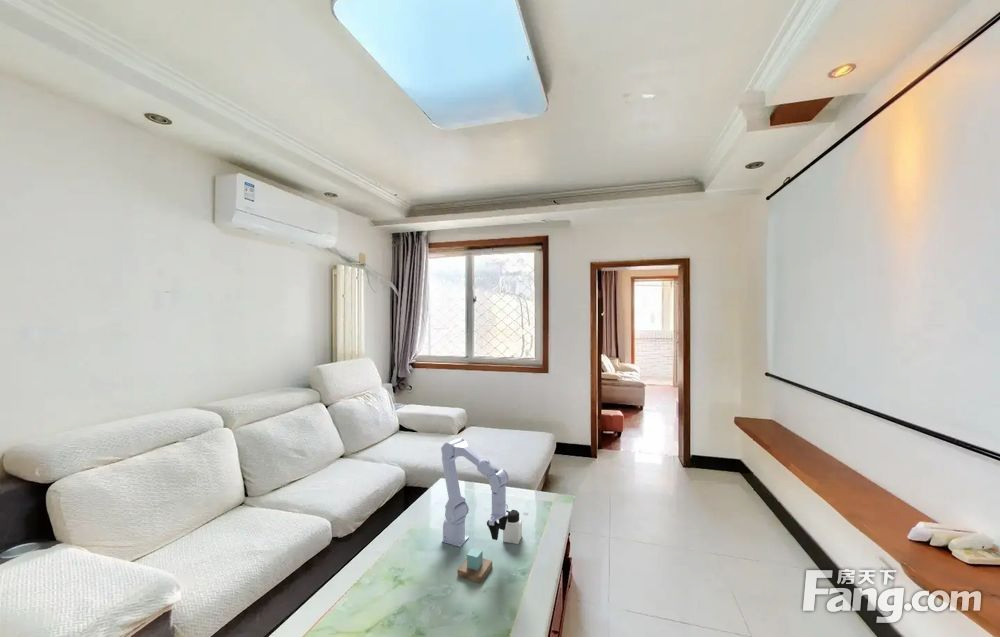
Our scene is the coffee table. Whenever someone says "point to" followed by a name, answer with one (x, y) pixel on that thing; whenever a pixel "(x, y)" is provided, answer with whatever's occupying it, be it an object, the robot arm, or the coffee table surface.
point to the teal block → (474, 559)
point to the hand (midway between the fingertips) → (498, 534)
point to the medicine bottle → (513, 528)
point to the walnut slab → (475, 571)
